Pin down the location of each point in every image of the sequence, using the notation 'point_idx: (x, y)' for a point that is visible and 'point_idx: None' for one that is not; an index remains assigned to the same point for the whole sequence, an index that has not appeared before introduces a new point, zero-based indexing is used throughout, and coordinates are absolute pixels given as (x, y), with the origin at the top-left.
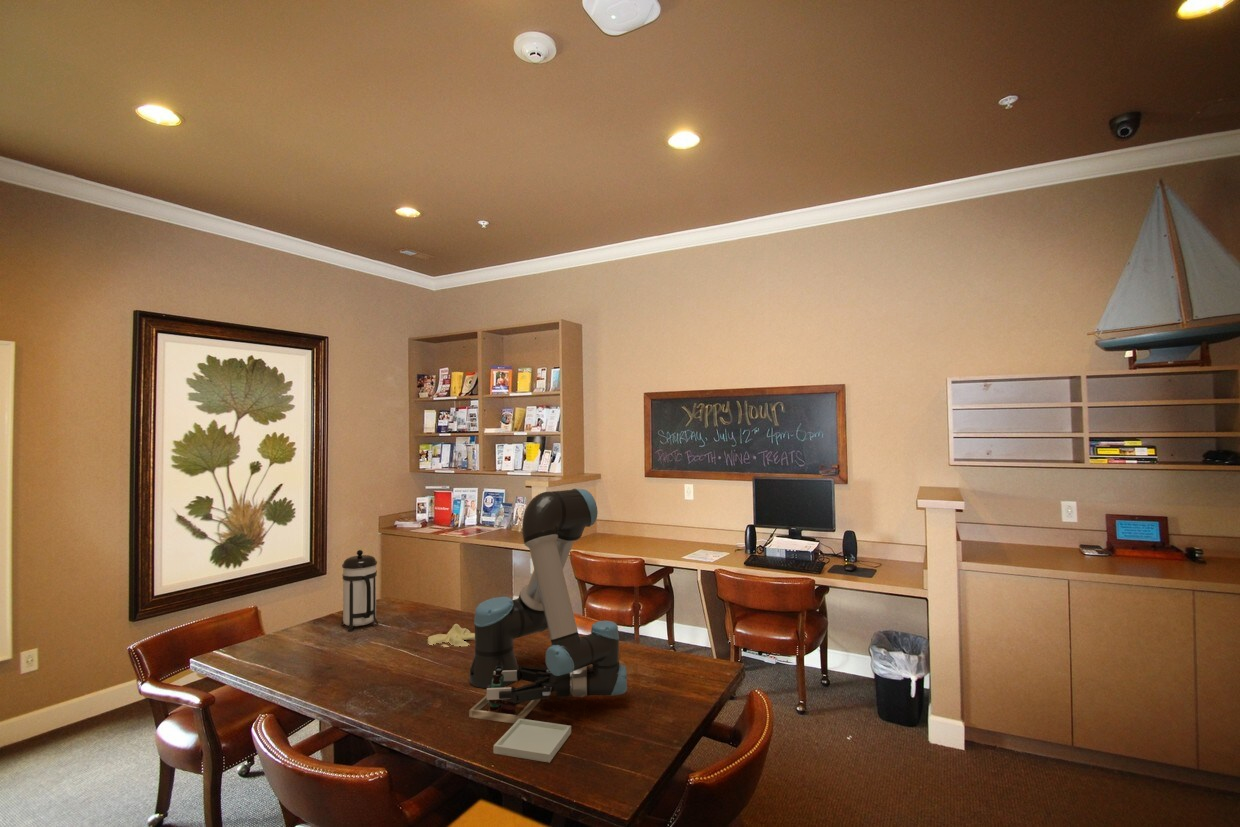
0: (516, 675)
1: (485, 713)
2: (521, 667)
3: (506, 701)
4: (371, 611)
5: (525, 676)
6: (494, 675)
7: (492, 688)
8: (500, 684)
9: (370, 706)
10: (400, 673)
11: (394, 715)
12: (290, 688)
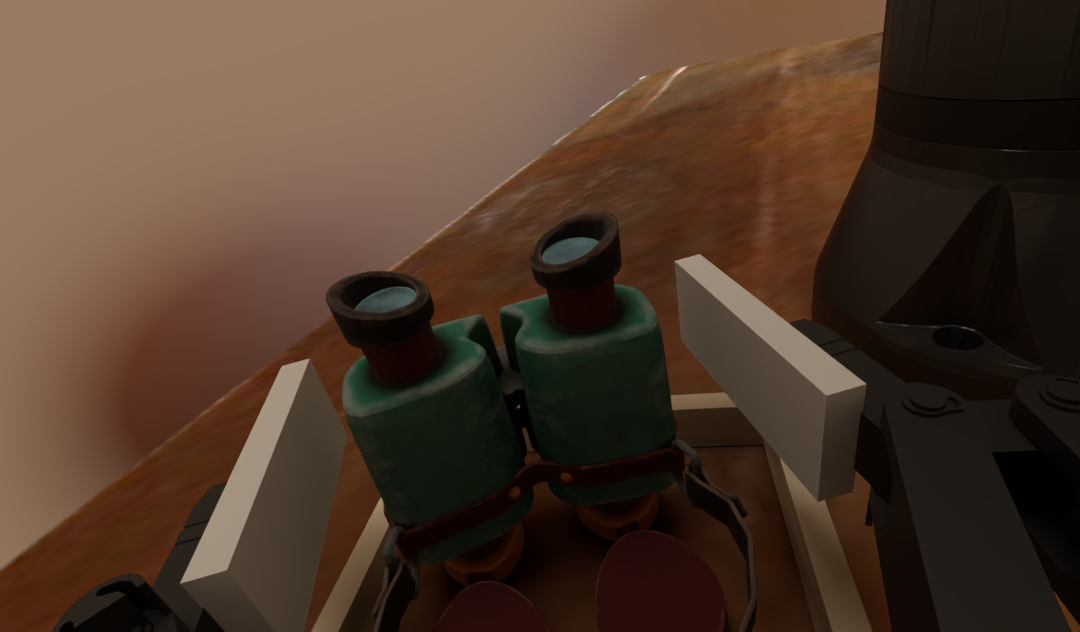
0: (820, 445)
1: (379, 511)
2: (1032, 393)
3: (374, 611)
4: None
5: (903, 586)
6: (337, 283)
7: (283, 393)
8: (364, 412)
9: (527, 208)
10: (757, 153)
11: (471, 256)
12: (590, 129)
